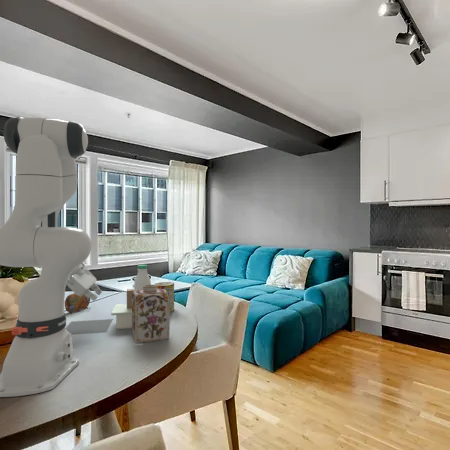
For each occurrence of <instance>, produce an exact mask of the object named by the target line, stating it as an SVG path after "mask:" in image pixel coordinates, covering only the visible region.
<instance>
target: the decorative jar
mask: <svg viewBox="0 0 450 450" xmlns="http://www.w3.org/2000/svg"><path fill="white" fill-rule="evenodd" d="M169 301H170V300H169V296H168V293H167V291H166V290H165V289H158V288H157V286H156V285H154V284H151V285H144V286H143V289H140V290H137V291H134V292H133V295H132V328H131V330H132V336H133V338H134V341H135V343H137V344H138V343H149V342H155V341H163V340H164V339H165V340H169V339H170V324H171V322H170V314H171V312H170V308H169Z"/></svg>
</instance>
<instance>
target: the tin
mask: <svg viewBox="0 0 450 450" xmlns="http://www.w3.org/2000/svg"><path fill="white" fill-rule="evenodd" d="M90 301H91V298H89V297H87V296H85V295H84V294H83V295H81V296H78V295H76V294H75V293H74V292H73V293H71V294H69V295H67V296H66V297H65V299H64V310H66V312H67V313H73V314H75V313H78V312H81V311H82V310H85V309H87V308H88V307H89V306H90Z"/></svg>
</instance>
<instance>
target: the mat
mask: <svg viewBox="0 0 450 450" xmlns="http://www.w3.org/2000/svg"><path fill="white" fill-rule="evenodd" d="M112 321H113V318H110V319H109V318H108V319H107V318H105V319H94V320H93V319H92V320H77V321H74V320H73V321H70V323H68V324H67V325H66V327H65V328H66V330H67V331H68V332H69V333H70V334H71V335H72V336H73V335H86V334H89V335H90V334H100V333H103V334H104V333H107V332H108V330H109V328H110V327H111V324H112Z"/></svg>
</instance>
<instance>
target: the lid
mask: <svg viewBox="0 0 450 450" xmlns="http://www.w3.org/2000/svg"><path fill="white" fill-rule="evenodd" d="M134 291H135V289H134V288H127V290H126V303H119V304H118V303H116V304H115V306H114V307H113V309H112V311H111V314H110V315H111V316H116V315H126V314H132V295H133V292H134Z"/></svg>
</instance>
